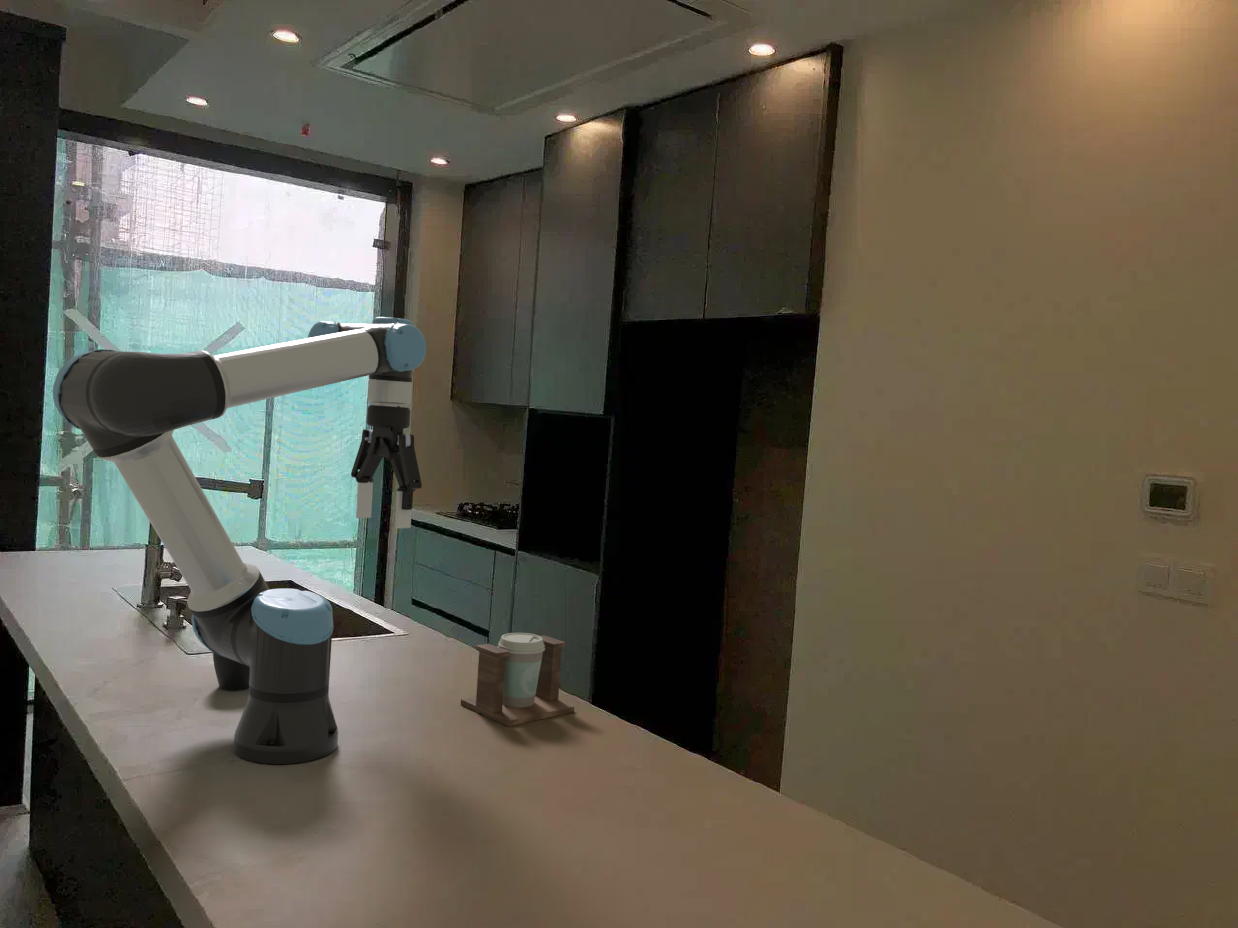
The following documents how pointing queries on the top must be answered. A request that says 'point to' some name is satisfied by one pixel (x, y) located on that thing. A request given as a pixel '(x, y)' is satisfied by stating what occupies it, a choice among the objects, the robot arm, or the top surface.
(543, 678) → the wooden stand
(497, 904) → the top surface
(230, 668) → the mug
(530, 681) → the coffee cup
